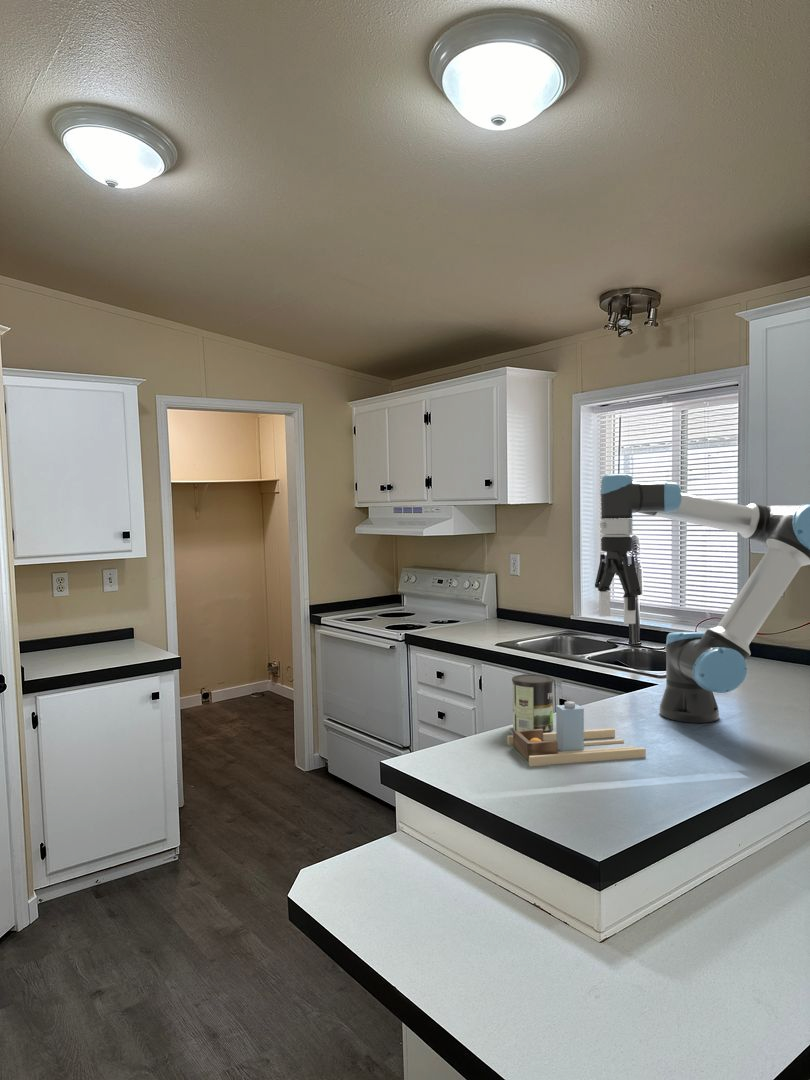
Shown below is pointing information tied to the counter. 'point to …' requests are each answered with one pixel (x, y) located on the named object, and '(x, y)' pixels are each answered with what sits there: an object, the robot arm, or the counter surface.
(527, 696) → the coffee can
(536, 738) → the ball
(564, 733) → the block
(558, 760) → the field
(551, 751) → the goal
